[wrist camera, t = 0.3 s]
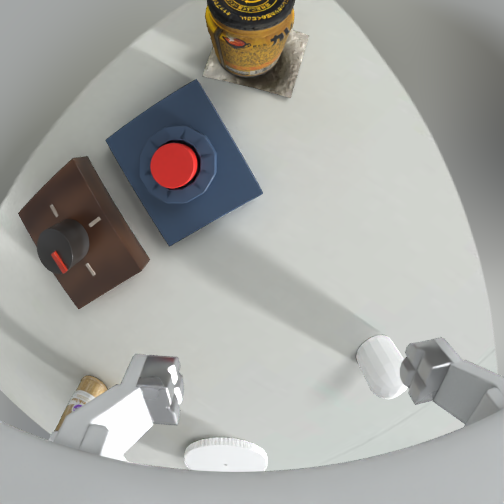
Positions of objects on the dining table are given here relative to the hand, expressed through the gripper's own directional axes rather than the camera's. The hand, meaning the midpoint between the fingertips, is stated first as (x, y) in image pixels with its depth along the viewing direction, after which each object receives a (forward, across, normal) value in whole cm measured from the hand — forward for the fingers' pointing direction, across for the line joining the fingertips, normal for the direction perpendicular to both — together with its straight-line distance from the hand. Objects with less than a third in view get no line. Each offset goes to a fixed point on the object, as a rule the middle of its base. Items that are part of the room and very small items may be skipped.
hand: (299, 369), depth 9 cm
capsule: (+21, -15, +18) cm, 31 cm away
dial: (+18, +19, +1) cm, 26 cm away
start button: (+17, +7, -6) cm, 20 cm away
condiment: (+21, 0, -16) cm, 27 cm away
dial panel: (+21, +19, +1) cm, 28 cm away
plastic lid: (+21, +6, +40) cm, 46 cm away
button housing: (+21, +7, -6) cm, 23 cm away
